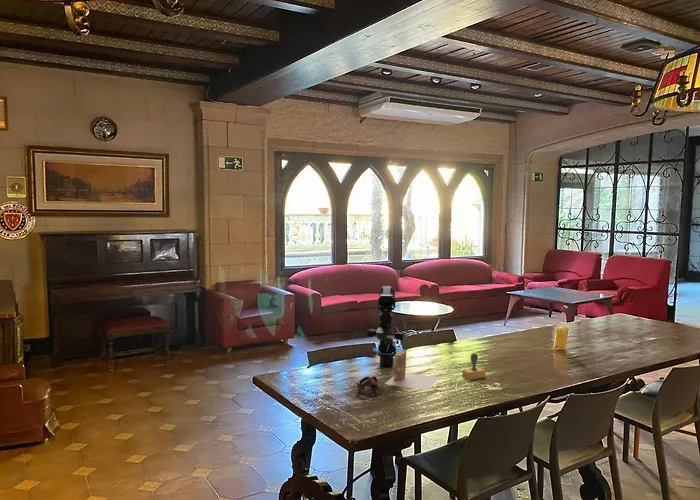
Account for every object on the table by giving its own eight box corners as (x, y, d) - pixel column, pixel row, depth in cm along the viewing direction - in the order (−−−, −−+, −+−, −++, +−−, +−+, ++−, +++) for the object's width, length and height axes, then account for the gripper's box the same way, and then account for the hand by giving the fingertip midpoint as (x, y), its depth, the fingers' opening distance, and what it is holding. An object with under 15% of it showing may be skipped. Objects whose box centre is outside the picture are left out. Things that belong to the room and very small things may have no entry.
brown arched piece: (377, 398, 231) (367, 383, 230) (360, 404, 235) (351, 389, 234) (386, 383, 241) (377, 368, 240) (370, 389, 246) (361, 374, 245)
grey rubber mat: (384, 384, 247) (384, 383, 247) (398, 372, 265) (398, 371, 265) (427, 391, 238) (427, 390, 238) (439, 378, 256) (439, 377, 256)
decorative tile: (384, 358, 293) (384, 354, 292) (372, 352, 305) (372, 348, 305) (406, 355, 299) (406, 351, 299) (394, 349, 311) (394, 345, 311)
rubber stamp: (468, 380, 254) (469, 355, 253) (461, 376, 259) (462, 352, 258) (485, 377, 258) (486, 353, 257) (478, 374, 263) (479, 350, 262)
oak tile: (393, 380, 251) (394, 355, 250) (399, 375, 258) (400, 350, 257) (400, 381, 250) (401, 356, 249) (405, 376, 257) (406, 351, 256)
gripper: (362, 321, 251) (362, 353, 253) (399, 325, 244) (398, 358, 245) (370, 317, 261) (370, 348, 263) (406, 320, 254) (406, 352, 255)
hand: (386, 351), depth 256 cm, fingers closed
